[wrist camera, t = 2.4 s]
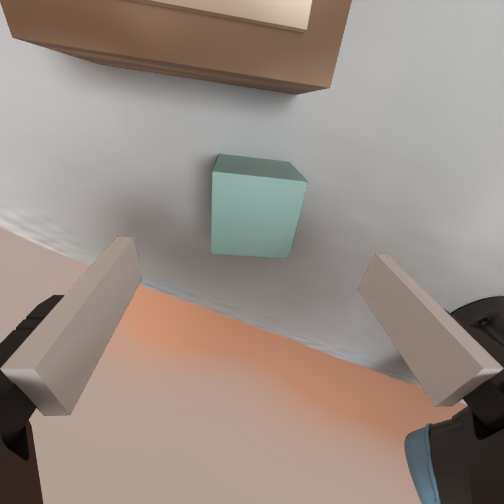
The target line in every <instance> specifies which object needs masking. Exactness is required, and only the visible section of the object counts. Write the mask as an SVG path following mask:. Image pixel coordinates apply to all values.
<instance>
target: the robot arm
mask: <svg viewBox="0 0 504 504" xmlns="http://www.w3.org/2000/svg"><path fill="white" fill-rule="evenodd" d="M141 280H142V277H141V272H140V267H139V262H138V257H137V252H136V247H135V242H134V237H124V236H117V237H116V238H115V239H114V240H113V241H112V243H111V244H110V245H109V246H108V247H107V248H106V249H105V250H104V252H103V253H102V254H101V255H100V256H99V257H98V258H97V260H96V261H95V262H94V263H93V264H92V265H91V266H90V267H89V269H88V270H87V271H86V272H85V273H84V274H83V276H82V277H81V278H80V279H79V280H78V281H77V282H76V283H75V284H74V286H73V287H72V288H71V289H70V290H69V291H68V292H67V294H66V295H53V296H52V297H50V298H48V299H47V300H45V301H44V302H42V303H40V304H39V305H38V306H37V307H36V308H35V309H34V310H33V311H32V312H31V313H30V314H29V315H28V316H27V317H26V319H25V320H23V321H22V322H21V323H20V324H19V325H18V326H17V327H16V330H13V331H12V332H11V333H10V334H9V335H8V336H7V337H6V339H4V340H3V342H1V343H0V504H43V498H42V492H41V485H40V479H39V472H38V466H37V459H36V453H35V446H34V440H33V433H32V426H31V424H30V422H29V418H30V417H31V415H32V414H33V412H34V411H35V409H36V408H37V409H38V410H39V411H40V412H41V413H42V414H43V415H44V416H59V415H60V416H61V415H70V414H71V413H72V411H73V409H74V407H75V405H76V403H77V401H78V399H79V398H80V396H81V394H82V392H83V390H84V388H85V386H86V384H87V383H88V381H89V379H90V377H91V375H92V373H93V371H94V369H95V367H96V365H97V364H98V362H99V360H100V358H101V356H102V354H103V352H104V350H105V348H106V346H107V344H108V343H109V341H110V338H111V337H112V335H113V333H114V331H115V329H116V327H117V325H118V324H119V321H120V320H121V318H122V316H123V314H124V312H125V310H126V308H127V307H128V305H129V303H130V301H131V299H132V297H133V295H134V293H135V291H136V289H137V288H138V286H139V284H140V282H141ZM357 289H358V291H359V292H360V294H361V295H362V297H363V298H364V300H365V301H366V303H367V304H368V306H369V307H370V309H371V310H372V312H373V313H374V315H375V316H376V318H377V319H378V321H379V322H380V324H381V325H382V327H383V328H384V330H385V331H386V333H387V335H388V336H389V338H390V339H391V341H392V342H393V344H394V345H395V347H396V348H397V350H398V351H399V353H400V354H401V356H402V357H403V359H404V360H405V362H406V363H407V365H408V366H409V368H410V369H411V371H412V372H413V374H414V375H415V377H416V378H417V380H418V381H419V383H420V384H421V386H422V387H423V389H424V390H425V392H426V394H427V395H428V397H429V398H430V400H431V401H432V402H433V404H434V406H453V405H455V404H456V403H457V402H459V401H460V400H461V399H463V400H464V401H465V402H466V403H467V405H468V406H467V407H466V408H464V409H463V410H462V411H460V412H458V413H457V414H455V415H454V416H453V417H452V419H449V420H446V421H443V422H439V423H436V424H431V423H429V424H427V425H426V427H423V428H421V429H418V430H416V431H413V432H411V433H409V434H408V435H407V436H406V439H405V445H404V446H405V454H406V459H407V463H408V467H409V470H410V474H411V477H412V479H413V482H414V485H415V488H416V491H417V493H418V496H419V498H420V501H421V503H422V504H504V297H495V298H489V299H485V300H481V301H478V302H475V303H472V304H470V305H467V306H465V307H463V308H461V309H459V310H457V311H456V312H454V313H452V314H450V313H449V312H448V311H446V310H445V309H443V308H442V307H441V306H440V305H439V304H438V303H437V302H436V301H435V300H434V299H433V298H432V297H431V296H430V295H429V294H428V293H427V292H426V291H425V290H424V289H423V288H422V287H421V286H420V285H419V284H418V283H417V282H416V281H415V280H414V279H413V278H412V277H411V276H410V275H409V274H408V273H406V272H405V271H404V270H403V269H402V268H401V267H400V266H399V265H398V264H397V263H396V262H395V261H394V260H393V259H392V258H391V257H390V256H389V255H388V254H378V253H376V254H375V256H374V257H373V259H372V261H371V263H370V265H369V267H368V269H367V271H366V273H365V275H364V277H363V279H362V281H361V283H360V285H359V287H358V288H357Z"/></svg>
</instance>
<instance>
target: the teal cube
mask: <svg viewBox="0 0 504 504" xmlns="http://www.w3.org/2000/svg"><path fill="white" fill-rule="evenodd" d="M307 184H308V181H307V180H306V179H305V178H304V177H303V176H302V175H301V174H300V173H299V172H298V171H297V170H296V168H295V167H294V166H293V165H292V164H291V163H290V162H284V161H275V160H267V159H259V158H250V157H242V156H233V155H225V154H219V155H218V158H217V161H216V163H215V166H214V169H213V171H212V215H211V254H221V255H236V256H251V257H266V258H280V259H289V255H290V251H291V247H292V243H293V239H294V235H295V231H296V227H297V223H298V220H299V216H300V212H301V208H302V204H303V200H304V196H305V192H306V188H307Z"/></svg>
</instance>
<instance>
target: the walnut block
mask: <svg viewBox="0 0 504 504" xmlns="http://www.w3.org/2000/svg"><path fill="white" fill-rule="evenodd" d="M351 1H352V0H0V2H1V5H2V8H3V11H4V14H5V17H6V20H7V23H8V26H9V29H10V32H11V35H12V37H13V38H16V39H19V40H22V41H26V42H29V43H32V44H35V45H39V46H42V47H45V48H48V49H52V50H55V51H58V52H61V53H65V54H68V55H71V56H74V57H78V58H81V59H84V60H87V61H91V62H94V63H97V64H101V65H108V66H114V67H121V68H128V69H134V70H141V71H147V72H154V73H160V74H167V75H173V76H180V77H186V78H193V79H200V80H206V81H213V82H219V83H226V84H232V85H239V86H245V87H252V88H259V89H265V90H272V91H278V92H285V93H291V94H302V93H307V92H312V91H317V90H322V89H327V88H330V85H331V81H332V77H333V73H334V69H335V65H336V61H337V57H338V53H339V49H340V45H341V41H342V37H343V33H344V29H345V25H346V21H347V17H348V13H349V9H350V5H351Z"/></svg>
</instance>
